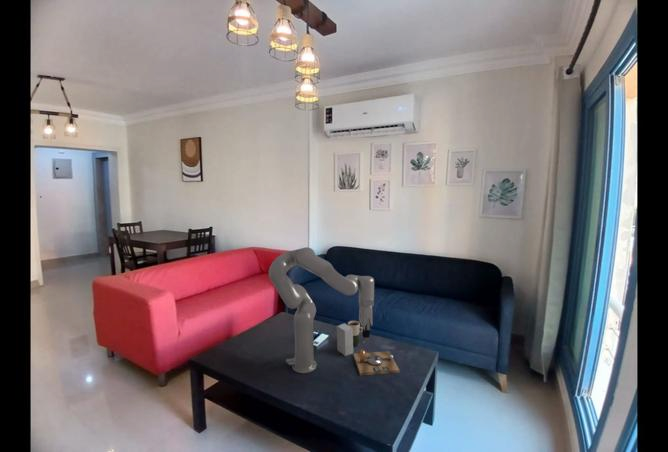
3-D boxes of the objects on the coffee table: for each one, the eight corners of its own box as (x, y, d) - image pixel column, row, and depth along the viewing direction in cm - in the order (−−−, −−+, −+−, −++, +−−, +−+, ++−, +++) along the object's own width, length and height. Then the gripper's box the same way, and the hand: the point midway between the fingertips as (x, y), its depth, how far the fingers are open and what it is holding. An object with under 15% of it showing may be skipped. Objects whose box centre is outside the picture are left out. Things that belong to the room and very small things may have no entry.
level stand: (360, 375, 155) (360, 372, 154) (353, 356, 172) (353, 352, 172) (399, 372, 157) (399, 369, 157) (388, 353, 175) (388, 350, 174)
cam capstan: (390, 355, 169) (391, 344, 169) (395, 363, 162) (395, 352, 161) (358, 357, 167) (358, 346, 166) (361, 366, 159) (361, 354, 159)
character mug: (363, 342, 187) (364, 321, 185) (361, 348, 180) (362, 326, 179) (345, 340, 190) (346, 319, 188) (343, 345, 183) (343, 324, 181)
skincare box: (353, 353, 175) (353, 328, 173) (344, 356, 172) (345, 330, 170) (344, 347, 182) (345, 322, 180) (336, 350, 178) (336, 325, 177)
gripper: (355, 296, 161) (355, 330, 163) (361, 307, 146) (361, 344, 149) (370, 295, 162) (369, 329, 164) (377, 306, 147) (377, 343, 150)
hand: (366, 336), depth 156 cm, fingers closed
